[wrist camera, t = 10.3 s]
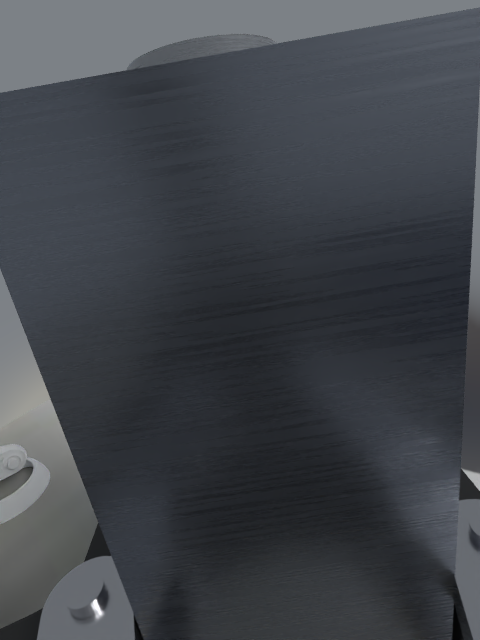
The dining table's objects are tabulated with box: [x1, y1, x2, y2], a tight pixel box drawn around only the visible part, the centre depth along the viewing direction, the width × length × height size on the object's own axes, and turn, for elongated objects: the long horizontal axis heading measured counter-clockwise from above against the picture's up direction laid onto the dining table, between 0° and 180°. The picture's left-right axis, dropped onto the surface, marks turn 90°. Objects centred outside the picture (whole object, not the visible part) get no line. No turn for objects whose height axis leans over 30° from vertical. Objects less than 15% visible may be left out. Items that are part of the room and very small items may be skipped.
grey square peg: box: [0, 8, 480, 640], centre depth 7 cm, size 4×4×16 cm
